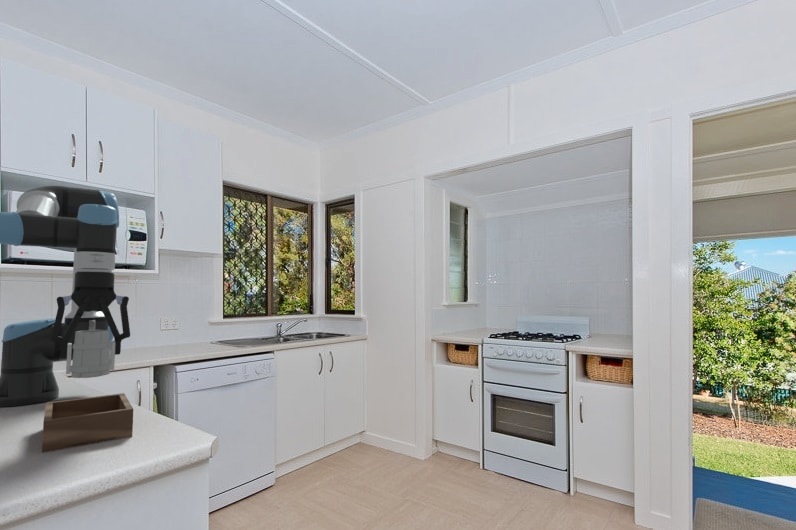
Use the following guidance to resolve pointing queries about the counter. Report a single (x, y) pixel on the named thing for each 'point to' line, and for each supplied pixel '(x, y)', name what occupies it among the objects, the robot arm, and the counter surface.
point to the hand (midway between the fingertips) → (90, 370)
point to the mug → (91, 353)
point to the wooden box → (86, 421)
